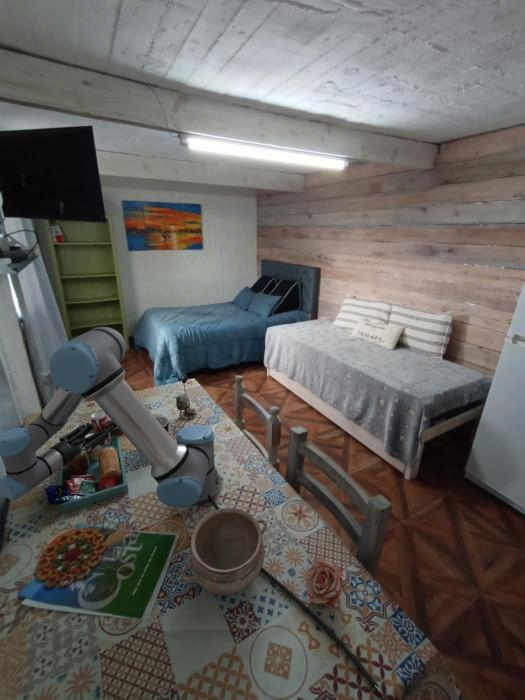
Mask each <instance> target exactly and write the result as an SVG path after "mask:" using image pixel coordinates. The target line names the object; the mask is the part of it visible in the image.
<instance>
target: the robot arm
mask: <svg viewBox="0 0 525 700" xmlns="http://www.w3.org/2000/svg"><path fill="white" fill-rule="evenodd" d="M126 354H127V343H126V340H125V338H124V337H123V335H122V334H121V333H120V332H119V331H118V330H116V329H114V328H111V327H108V326H98V327H97V326H96V327H94V328H91V329H89V330H87V331H86V332H85V333H82V334H80V335H78V336H76V337H74V338H72V339H70V340H68V341H66V342H65V343H63V344H62V345H60V346H59V347H58V348H56V349H55V350H54V351H53V352H52V354H51V355H50V358H49V365H48V369H49V374H50V377H51V379H52V381H53V382H54V384H55V385H56V386H57V387H58V389H57V390H56V392H55V393H54V394H53V396H52V397H51V398H50V400H49V401H48V402H47V404H46V405H45V407H44V408H43V409H42V411H41V412H40V414H39V415H38V416H37V417H36V418H35V419H34V420H33V421H31V423H29V424H28V425H26V426H25V427H15V428H11V429H9V430H8V431H4V432H3V433H1V434H0V458H1V461H2V464H3V466H4V469H5V473H6V475H3V477H2V478H1V479H0V493H1V494H2V495H3V497H5V498H6V499H9V500H12V501H14V500H15V501H16V500H18V499H20V498H22V496H24V495H26V494H27V493H30V492H31V491H32V490H33V489H35V488H36V487H37V486H38V485H40V484H41V483H43V481H45V480H46V479H48V478H49V477H51V476H52V475H54V474H55V473H57V472H58V471H59V470H61V469H62V468H63V467H66V465H68V464H69V463H71V462H72V461H73V460H74V459H75V457H76V456H77V455H78V454H81V453H82V452H85V453H86V455H88V454H90V453H91V452H92V451H93V450H94V449H95V448H97V447H99V446H98V445H100V444H101V443H102V442H104V441H105V440H107V439H108V438H109V432H111V431H112V430H113V429H114V428H115V427H118V428H119V429H120V430H121V432H122V434H123V435H124V436H125V438H126V439H127V440H128V441H129V442H130V444H132V445H133V447H134V449H136V450H137V451H138V452H139V454H140V455H141V456H142V457H143V458H144V460H146V462H147V464H149V466H150V467H151V468H150V475H151V477H152V478H153V479H154V481H155V482H156V483H157V484H158V485H156V486H157V487H156V496H157V499H158V501H160V502H161V503H162V504H164V505H165V506H168V507H169V508H170V507H171V508H176V509H184V508H188V507H191V506H192V505H197V504H203V503H206V502H208V501H210V503H211V505H212V506H213V507H214V509H215V510H218V509H221V508H220V507H219V505H218V504H217V503H216V501H215V500H214V499H213V498H214V497H215V496H217V494H218V493H219V491H220V489H221V485H222V484H221V475H220V474H219V472H218V469H217V467H216V465H215V443H214V442H215V436H214V432H213V430H212V428H210V427H208V426H207V425H203V424H189V425H186V426H183V427H181V428H180V429H179V430H178V431H177V433H176V437H175V440H176V441H175V440H174V438H173V437H172V436H171V435H170V433H169V432H168V433H167V431H166V430H165V429H164V428H163V426H162V425H161V424H160V423H159V421H158V420H157V419H156V418H155V417H156V416H155V415H154V414H153V413H152V411H151V410H150V409H149V407H147V405H146V404H145V402H144V401H143V400H142V399H141V397H140V396H139V395H138V394H137V392H135V391H134V389H133V388H132V387H131V386H130V384H129V383H128V382H127V381H126V379H125V377H126V376H125V375H126V369H125V368H124V367H123V366H122V364H121V362H122V361H123V359H124V358H125V356H126ZM83 400H87V401H89V400H90V401H93V402H95V403H96V404H97V406H99V408H101V409H102V412H104V413H105V415H106V416H108V417H107V418H109V419H110V420H112V422H111V423H109V424H108V425H106V426H105V427H103V430H101V431H99V432H97V433H95V434H90V435H89V433H90V432H92V431H93V427H92V423H91V422H86V423H83V424H81V425H80V426H78V427H76V428H75V429H73V430H71V431H70V432H68V433H67V434H65V435H63V436H61V437H59V439H58V440H59V442H57V443H56V444H54V445H52V446H51V447H49V448H47V449H46V450H43V452H41V453H39V454H38V455H37V453H36V452H37V451H38V450H40V449H41V448H42V447H43V446H44V445H45V444H47V443H48V441H49V440H50V439H52V437H54V436H55V435H56V434H57V433H58V432H60V431H61V430H63V428H64V427H65V425H66V424H67V423H68V421H69V418H71V416H72V414H73V413H74V412H75V410H76V409H77V408H78V407H79V406H80V404H81V403H82V402H83ZM91 429H92V431H91ZM88 435H89V436H88ZM260 572H261V573H262V574H263V575H264V576H265V577H266V578H268V579H269V580H270V581H271V582H273V584H275V585H276V586H277V587H278V588H279V589H280V590H282V591H283V592H284V593H285V594H286V595H287V596H288V597H290V599H291V600H293V601H294V603H296V604H297V605H298V606H299V607H301V609H303V610H304V611H305V612H306V613H307V614H308V615H309V616H310V617H311V618H312V619H313V620H314V621H315V622H316V623H317V624H318V625H319V626H320V628H322V629H323V630H324V631H325V632H326V633H327V634H328V635H329V636H330V638H331V639H332V640H333V641H334V642H335V643H336V644H337V645H338V646H339V647H340V649H341V650H342V651H343V652H344V653H345V654H346V655H347V657H348V658H349V659H350V660H351V662H352V663H353V664H354V665H355V666H356V667H357V669H358V670H359V671H360V672H361V673H362V675H363V676H364V677H365V679H366V680H367V681H368V682H369V684H370V685H371V686H372V687H373V689H374V690H375V691H376V693H377V694H378V695H379V697H380V698H381V700H385V699H384V698H382V697H383V696H382V695H381V694H380V692H379V691H378V690H377V688H376V687H375V685H376V686H377V685H378V686H379V684H378V683H377V682H376V680H375V679H374V678H373V677H372V675H371V674H370V672H368V670H367V669H366V668H365V666H364V665H363V664H362V662H360V660H358V658H357V657H356V656H355V655H354V653H353V652H352V651H351V650H350V649H349V648H348V646H346V645H345V644H344V642H343V641H342V640H341V639H340V638H339V636H337V635H336V633H334V631H332V629H331V628H330V627H329V626H328V625H327V624H326V623H325V622H324V621H323V620H321V618H320V617H319V616H318V615H316V613H314V611H313V610H312V609H310V607H309V606H307V605H306V604H305V602H303V601H302V600H301V599H299V598H298V597H297V596H296V595H295V594H294V593H293V592H292V591H291V590H289V589H288V588H287V587H286V586H285V585H283V583H281V582H280V581H279V580H278V579H277V578H276V577H274V576H273V575H272V574H271V573H270V572H269V571H267V570H266V569H265V568H264V567H263V566H262V568H261V570H260ZM378 686H377V687H378ZM381 690H382V691H383V689H382V688H381ZM384 694H385V695H386V693H385V692H384ZM387 698H388V699H389V697H388V696H387Z"/></svg>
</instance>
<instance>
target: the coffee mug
mask: <svg viewBox="0 0 525 700" xmlns="http://www.w3.org/2000/svg"><path fill="white" fill-rule="evenodd" d="M154 417H155V418H156V419H157V420H158V421H159V423H160V424H161V425H162V426H163V428H164V429H165V430H166V431H167V433H168V434H169V429H170V420H169V418H168V417H167V416H160V415H159V416H158V415H157V416H154Z"/></svg>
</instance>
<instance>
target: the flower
mask: <svg viewBox="0 0 525 700" xmlns="http://www.w3.org/2000/svg"><path fill="white" fill-rule="evenodd" d="M343 577H344V573H343V572H342V569H341V568H339V566H338V565H337V564H336V563H335V562H334V561H329V560H327V559H324V558H322V557H316V558H315V559H314V562H313V564H312V565H311V566H310V568H309V570H308V574H307V583H306V584H307V585H306V587H307V596H308V597H309V599H310V601H311V602H312V603H313V604H315V605H323V606H326V608H327V609H330V608H331V609H332V608H333V607H332V606H333V605H335V604H337V603H338V602H339V601H341V597H340V595H341V594H342V595H344V594H343V592H342V584H343V581H344V579H343ZM340 593H341V594H340Z"/></svg>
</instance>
